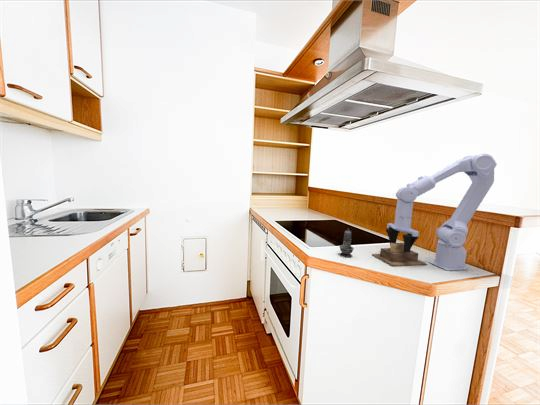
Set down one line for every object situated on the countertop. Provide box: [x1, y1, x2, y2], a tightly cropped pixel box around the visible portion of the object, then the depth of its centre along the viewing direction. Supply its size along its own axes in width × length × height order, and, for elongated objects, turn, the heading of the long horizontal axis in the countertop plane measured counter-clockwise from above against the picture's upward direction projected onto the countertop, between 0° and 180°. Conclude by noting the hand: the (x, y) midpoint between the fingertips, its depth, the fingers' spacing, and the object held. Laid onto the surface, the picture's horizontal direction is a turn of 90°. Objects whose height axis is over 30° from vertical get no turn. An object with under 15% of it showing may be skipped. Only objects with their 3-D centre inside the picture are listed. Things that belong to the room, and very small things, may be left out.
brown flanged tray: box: [371, 247, 427, 268], centre depth 93 cm, size 16×12×4 cm
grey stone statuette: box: [338, 228, 355, 259], centre depth 95 cm, size 6×6×12 cm
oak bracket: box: [389, 242, 407, 253], centre depth 93 cm, size 6×2×6 cm, turn 102°
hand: (399, 248), depth 93 cm, fingers open, 7 cm apart
